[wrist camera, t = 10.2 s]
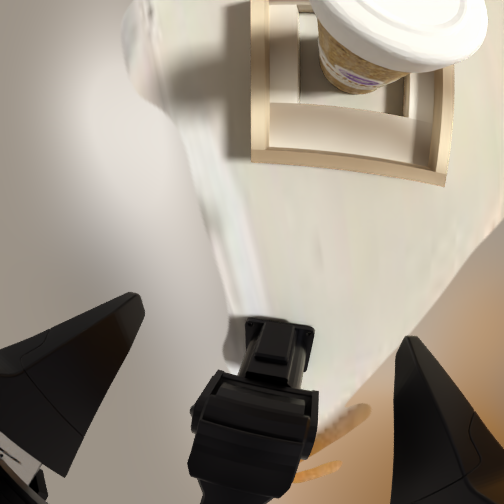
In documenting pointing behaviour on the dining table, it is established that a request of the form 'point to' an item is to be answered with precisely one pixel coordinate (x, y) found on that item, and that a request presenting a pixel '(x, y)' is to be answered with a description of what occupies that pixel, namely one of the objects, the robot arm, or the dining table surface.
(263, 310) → the dining table surface
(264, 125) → the box
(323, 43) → the sprinkles bottle
